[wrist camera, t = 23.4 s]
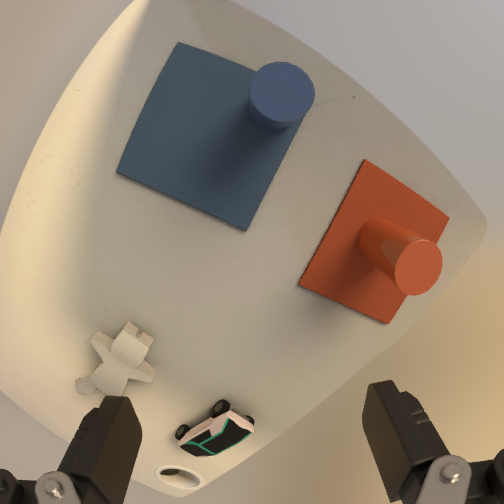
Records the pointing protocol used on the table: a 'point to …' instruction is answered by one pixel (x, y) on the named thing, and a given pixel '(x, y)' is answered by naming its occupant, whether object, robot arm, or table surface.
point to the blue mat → (205, 138)
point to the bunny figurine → (118, 362)
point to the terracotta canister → (400, 255)
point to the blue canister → (279, 95)
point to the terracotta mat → (347, 251)
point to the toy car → (215, 431)
